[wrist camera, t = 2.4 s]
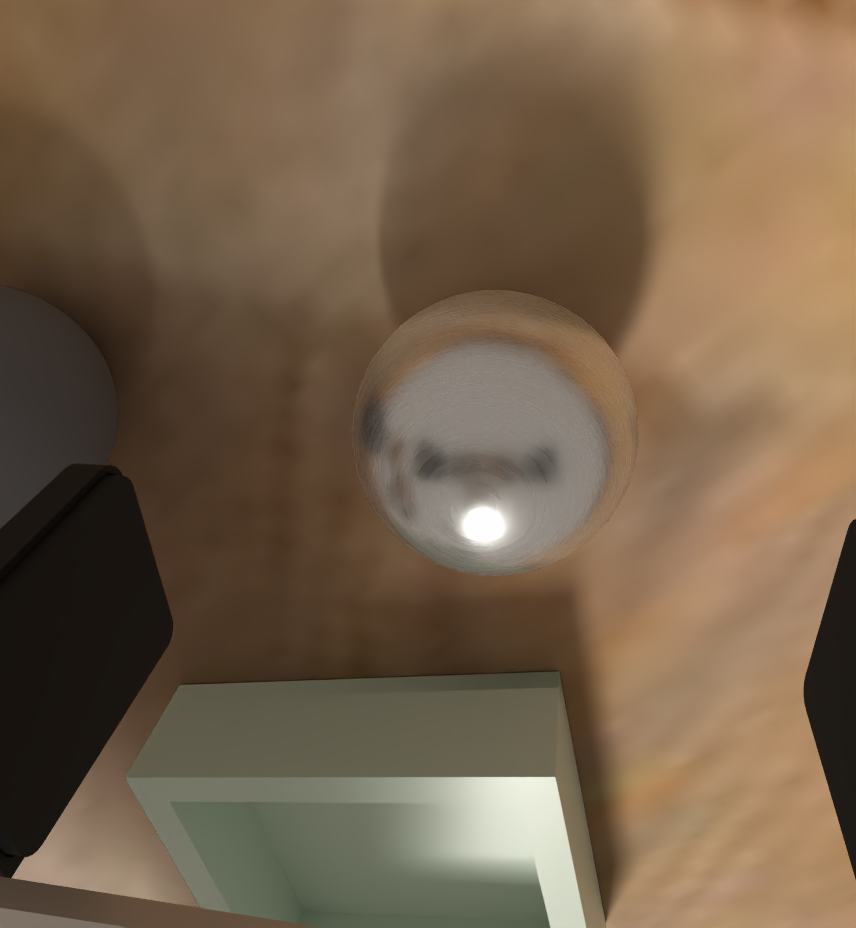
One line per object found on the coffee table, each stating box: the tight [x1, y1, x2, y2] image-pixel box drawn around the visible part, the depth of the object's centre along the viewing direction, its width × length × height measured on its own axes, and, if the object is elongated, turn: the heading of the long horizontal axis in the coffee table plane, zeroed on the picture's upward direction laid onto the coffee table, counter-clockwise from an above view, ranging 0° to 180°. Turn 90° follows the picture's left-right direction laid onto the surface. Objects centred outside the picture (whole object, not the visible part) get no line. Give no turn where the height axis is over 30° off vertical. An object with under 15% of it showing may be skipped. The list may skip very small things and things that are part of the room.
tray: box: [125, 671, 606, 928], centre depth 25 cm, size 12×12×4 cm
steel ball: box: [351, 290, 638, 576], centre depth 15 cm, size 6×6×6 cm
